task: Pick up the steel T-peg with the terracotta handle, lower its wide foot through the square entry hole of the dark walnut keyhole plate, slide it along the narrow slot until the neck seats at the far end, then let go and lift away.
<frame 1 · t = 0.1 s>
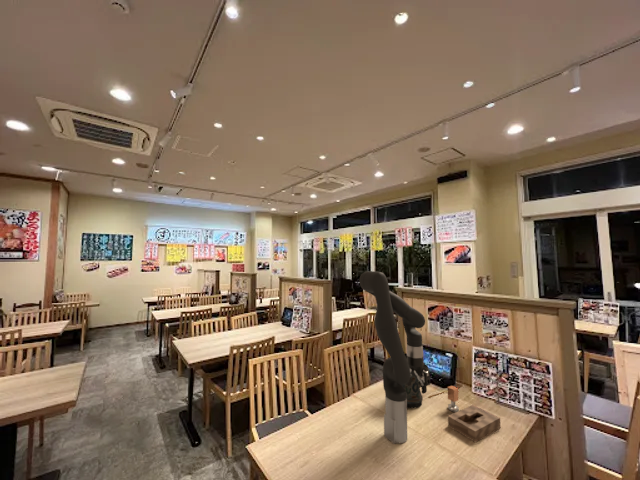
hand: (416, 389, 128), 17 cm above the table, tool pointing down, fingers open, 8 cm apart
t peg: (453, 409, 142), on the table
beer stein: (409, 400, 151), on the table
keyhole plate: (474, 426, 128), on the table
axe: (442, 392, 161), on the table
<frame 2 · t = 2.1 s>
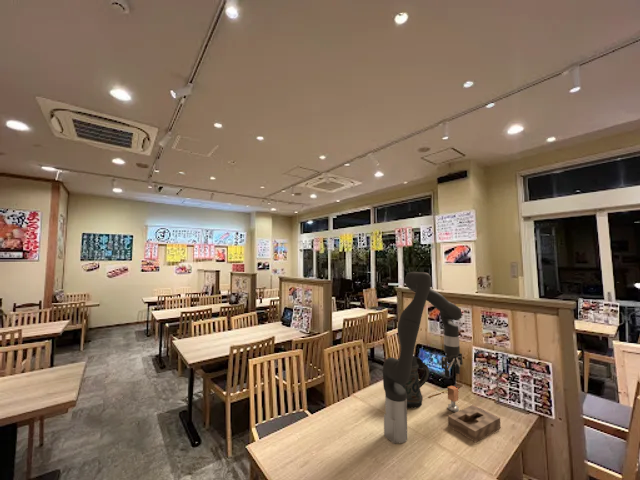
hand: (452, 375, 143), 17 cm above the table, tool pointing down, fingers open, 8 cm apart
nothing on the table moved.
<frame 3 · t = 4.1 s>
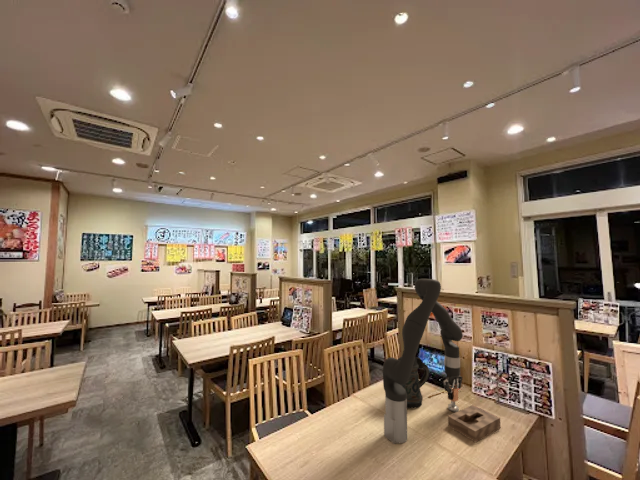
hand: (453, 398, 143), 6 cm above the table, tool pointing down, fingers closed on t peg, 3 cm apart
t peg: (453, 409, 142), on the table, touching gripper
everything else where it was.
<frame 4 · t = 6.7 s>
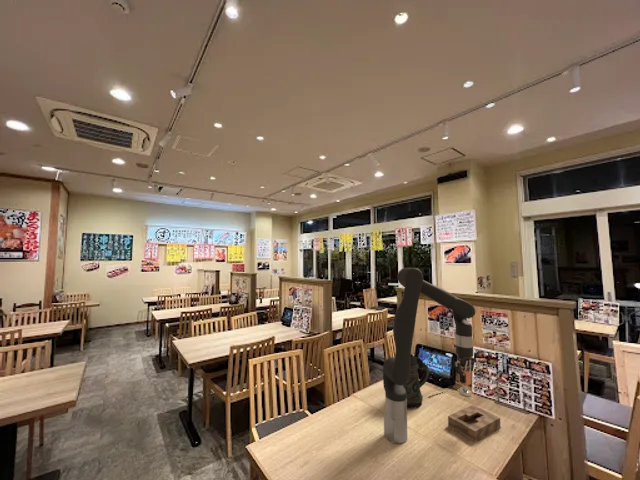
hand: (465, 381, 128), 21 cm above the table, tool pointing down, fingers closed on t peg, 3 cm apart
t peg: (465, 394, 128), point 15 cm above the table, touching gripper
everything else where it was.
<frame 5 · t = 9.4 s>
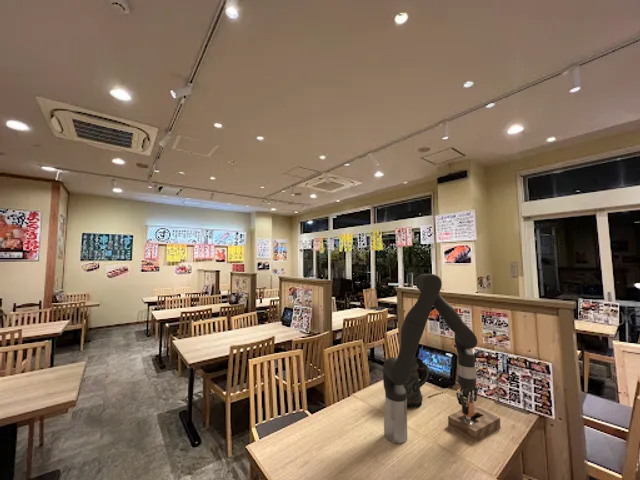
hand: (468, 412, 126), 8 cm above the table, tool pointing down, fingers closed on t peg, 3 cm apart
t peg: (468, 425, 126), point 2 cm above the table, touching gripper
everything else where it was.
when the fingers open (7 cm above the table, at t = 13.0 s): t peg stays where it is, resting on keyhole plate.
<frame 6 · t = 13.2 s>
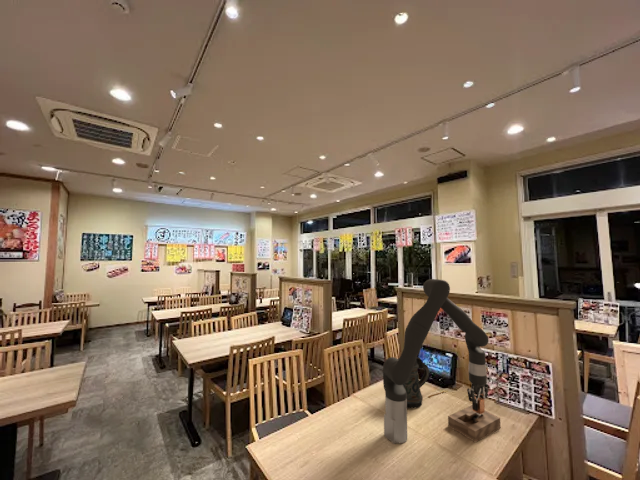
hand: (478, 408, 130), 7 cm above the table, tool pointing down, fingers open, 5 cm apart
t peg: (479, 422, 130), point 1 cm above the table, touching keyhole plate
everything else where it was.
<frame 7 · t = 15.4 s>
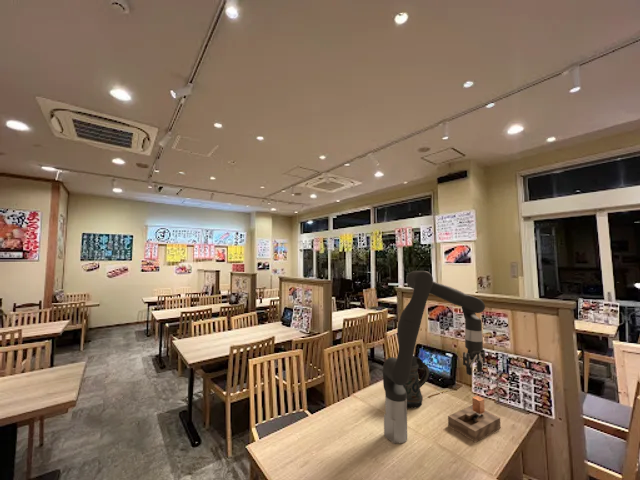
hand: (474, 372, 132), 24 cm above the table, tool pointing down, fingers open, 8 cm apart
nothing on the table moved.
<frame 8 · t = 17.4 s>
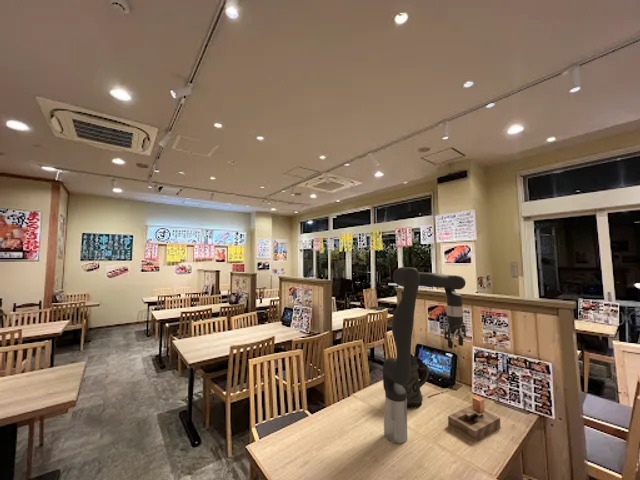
hand: (455, 346, 138), 34 cm above the table, tool pointing down, fingers open, 8 cm apart
nothing on the table moved.
at the end: t peg 0.1 cm from the target spot on the keyhole plate, point 1.0 cm above the keyhole plate's base; t peg tilted 0°; the gripper is holding nothing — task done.
